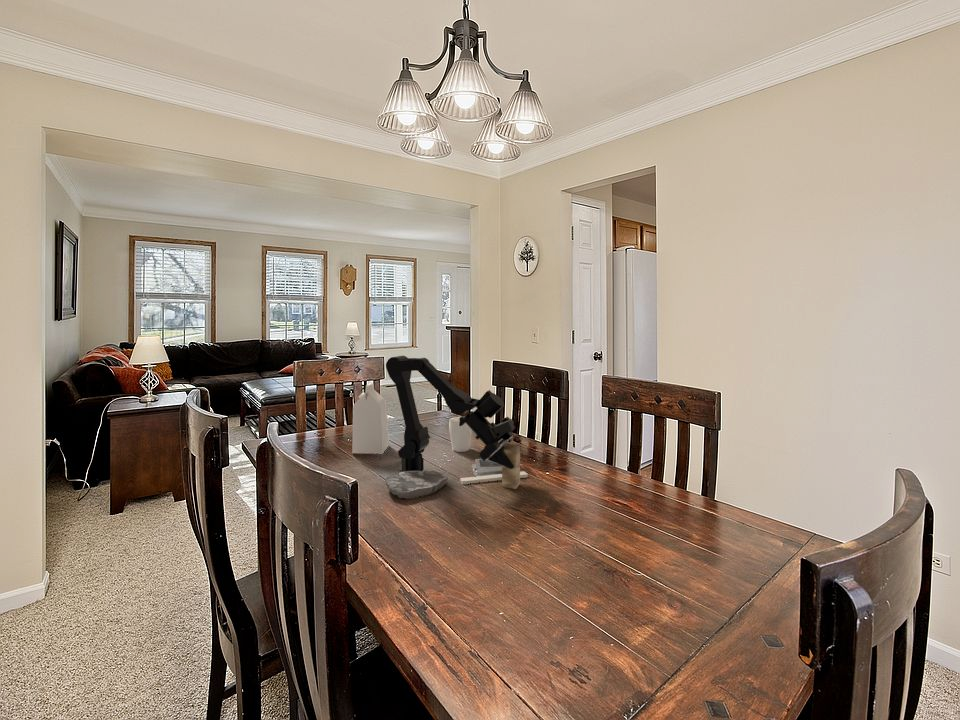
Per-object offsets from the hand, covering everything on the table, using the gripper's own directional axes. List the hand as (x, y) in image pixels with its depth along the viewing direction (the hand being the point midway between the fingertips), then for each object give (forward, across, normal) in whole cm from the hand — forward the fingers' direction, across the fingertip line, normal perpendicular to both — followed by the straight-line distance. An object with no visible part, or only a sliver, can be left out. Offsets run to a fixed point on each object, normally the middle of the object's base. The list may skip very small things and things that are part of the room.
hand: (515, 465), depth 151 cm
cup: (-17, +31, +26) cm, 44 cm away
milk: (-40, +19, +49) cm, 66 cm away
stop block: (+4, 0, +6) cm, 7 cm away
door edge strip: (-1, +4, +10) cm, 11 cm away
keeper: (-4, +11, +13) cm, 18 cm away
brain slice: (-15, -12, +25) cm, 32 cm away
